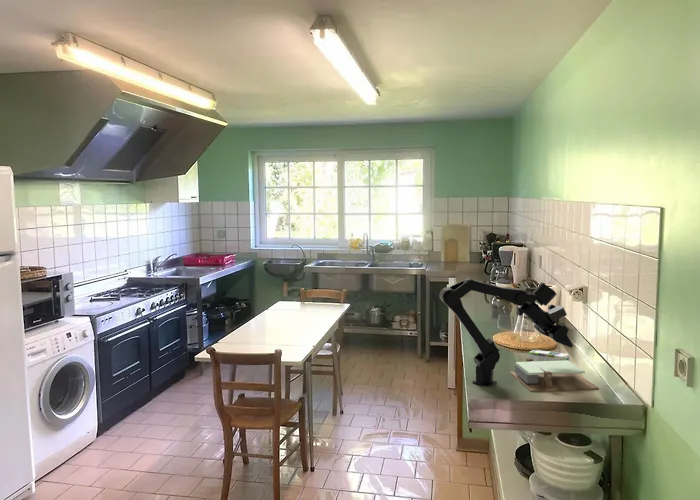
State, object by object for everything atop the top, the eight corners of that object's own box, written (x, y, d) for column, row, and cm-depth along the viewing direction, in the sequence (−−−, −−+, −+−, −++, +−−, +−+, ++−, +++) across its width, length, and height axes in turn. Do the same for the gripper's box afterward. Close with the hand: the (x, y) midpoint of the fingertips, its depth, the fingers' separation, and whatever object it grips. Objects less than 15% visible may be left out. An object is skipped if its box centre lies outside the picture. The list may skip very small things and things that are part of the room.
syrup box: (534, 349, 222) (569, 352, 212) (534, 363, 222) (570, 367, 212) (527, 352, 218) (563, 355, 208) (528, 366, 218) (564, 371, 208)
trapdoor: (527, 384, 191) (527, 372, 191) (514, 372, 205) (514, 361, 205) (584, 382, 192) (584, 370, 191) (567, 370, 206) (567, 359, 205)
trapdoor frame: (530, 391, 187) (530, 374, 187) (509, 373, 209) (509, 357, 209) (598, 389, 188) (598, 372, 187) (571, 370, 210) (571, 355, 209)
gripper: (562, 303, 187) (594, 333, 188) (542, 295, 206) (570, 322, 207) (540, 326, 188) (571, 356, 189) (521, 316, 206) (550, 343, 207)
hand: (566, 343), depth 198 cm, fingers open, 9 cm apart
